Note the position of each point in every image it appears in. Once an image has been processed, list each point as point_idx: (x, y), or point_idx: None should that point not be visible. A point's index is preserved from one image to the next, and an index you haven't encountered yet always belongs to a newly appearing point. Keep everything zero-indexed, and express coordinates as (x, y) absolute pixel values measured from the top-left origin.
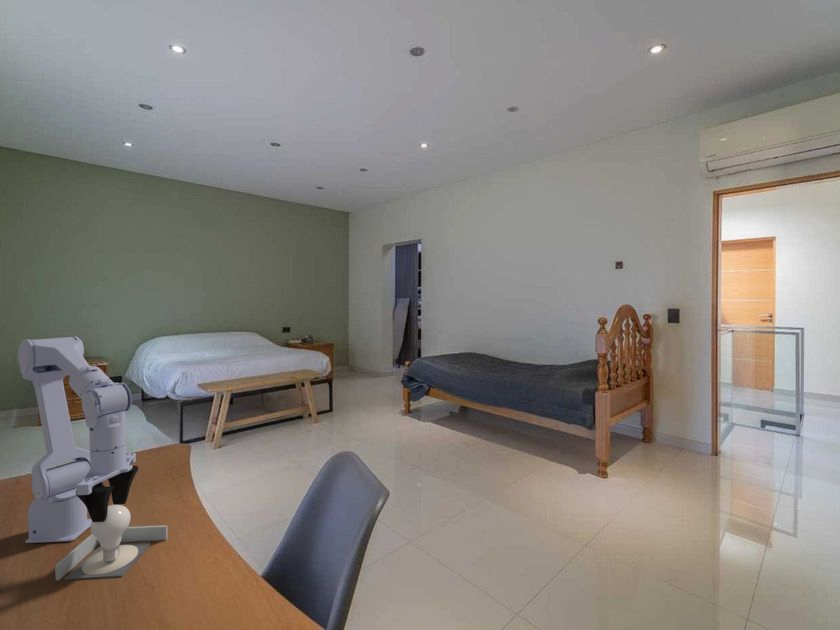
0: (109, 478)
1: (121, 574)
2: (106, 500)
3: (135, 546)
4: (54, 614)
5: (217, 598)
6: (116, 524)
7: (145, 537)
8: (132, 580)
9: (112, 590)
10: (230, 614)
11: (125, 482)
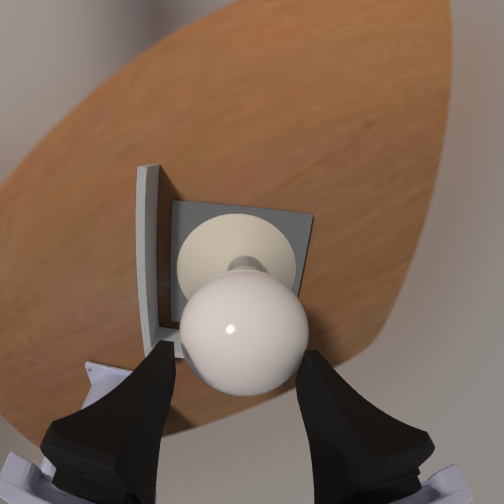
0: (154, 482)
1: (309, 217)
2: (366, 410)
3: (186, 236)
4: (387, 288)
5: (409, 11)
6: (296, 303)
7: (153, 225)
8: (331, 182)
9: (355, 214)
10: (438, 4)
11: (145, 422)
